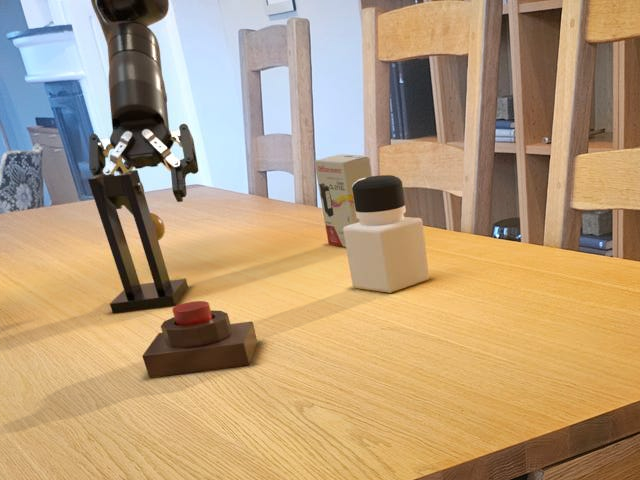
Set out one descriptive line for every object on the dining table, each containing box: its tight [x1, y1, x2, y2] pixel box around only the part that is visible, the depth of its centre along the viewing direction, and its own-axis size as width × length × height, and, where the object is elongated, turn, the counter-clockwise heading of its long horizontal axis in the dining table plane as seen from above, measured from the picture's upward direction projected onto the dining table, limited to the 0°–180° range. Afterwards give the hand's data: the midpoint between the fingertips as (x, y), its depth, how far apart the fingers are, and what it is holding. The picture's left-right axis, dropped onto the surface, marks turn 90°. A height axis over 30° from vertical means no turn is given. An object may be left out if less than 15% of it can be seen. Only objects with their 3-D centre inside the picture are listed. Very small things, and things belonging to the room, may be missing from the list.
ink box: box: [313, 153, 373, 248], centre depth 126 cm, size 9×5×12 cm, turn 40°
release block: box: [141, 309, 258, 379], centre depth 85 cm, size 10×8×4 cm
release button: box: [171, 300, 213, 326], centre depth 83 cm, size 4×4×2 cm
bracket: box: [87, 169, 189, 314], centre depth 106 cm, size 10×8×15 cm
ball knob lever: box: [103, 175, 166, 241], centre depth 109 cm, size 15×4×4 cm, turn 6°
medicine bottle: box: [343, 174, 430, 294], centre depth 102 cm, size 7×7×12 cm
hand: (147, 201), depth 115 cm, fingers open, 8 cm apart
